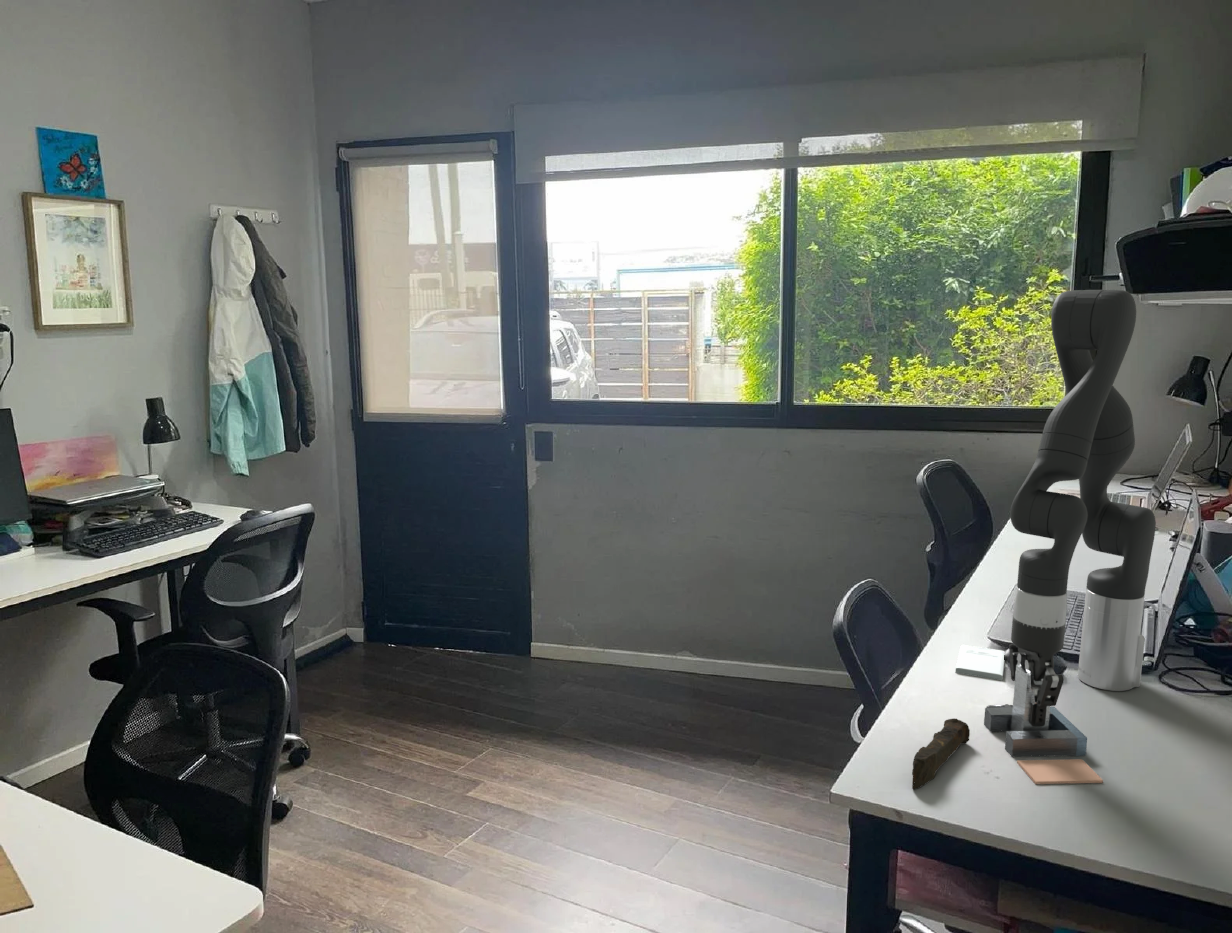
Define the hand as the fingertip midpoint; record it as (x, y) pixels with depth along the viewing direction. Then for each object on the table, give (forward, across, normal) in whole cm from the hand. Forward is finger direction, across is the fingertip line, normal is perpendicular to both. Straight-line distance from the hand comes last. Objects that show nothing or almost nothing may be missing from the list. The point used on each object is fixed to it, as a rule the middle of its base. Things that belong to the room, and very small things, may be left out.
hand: (1030, 717), depth 147 cm
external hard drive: (+5, +29, -4) cm, 30 cm away
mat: (+4, -10, 0) cm, 11 cm away
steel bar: (+4, 0, 0) cm, 4 cm away
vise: (+4, +2, -1) cm, 4 cm away
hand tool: (+4, -7, +17) cm, 19 cm away
